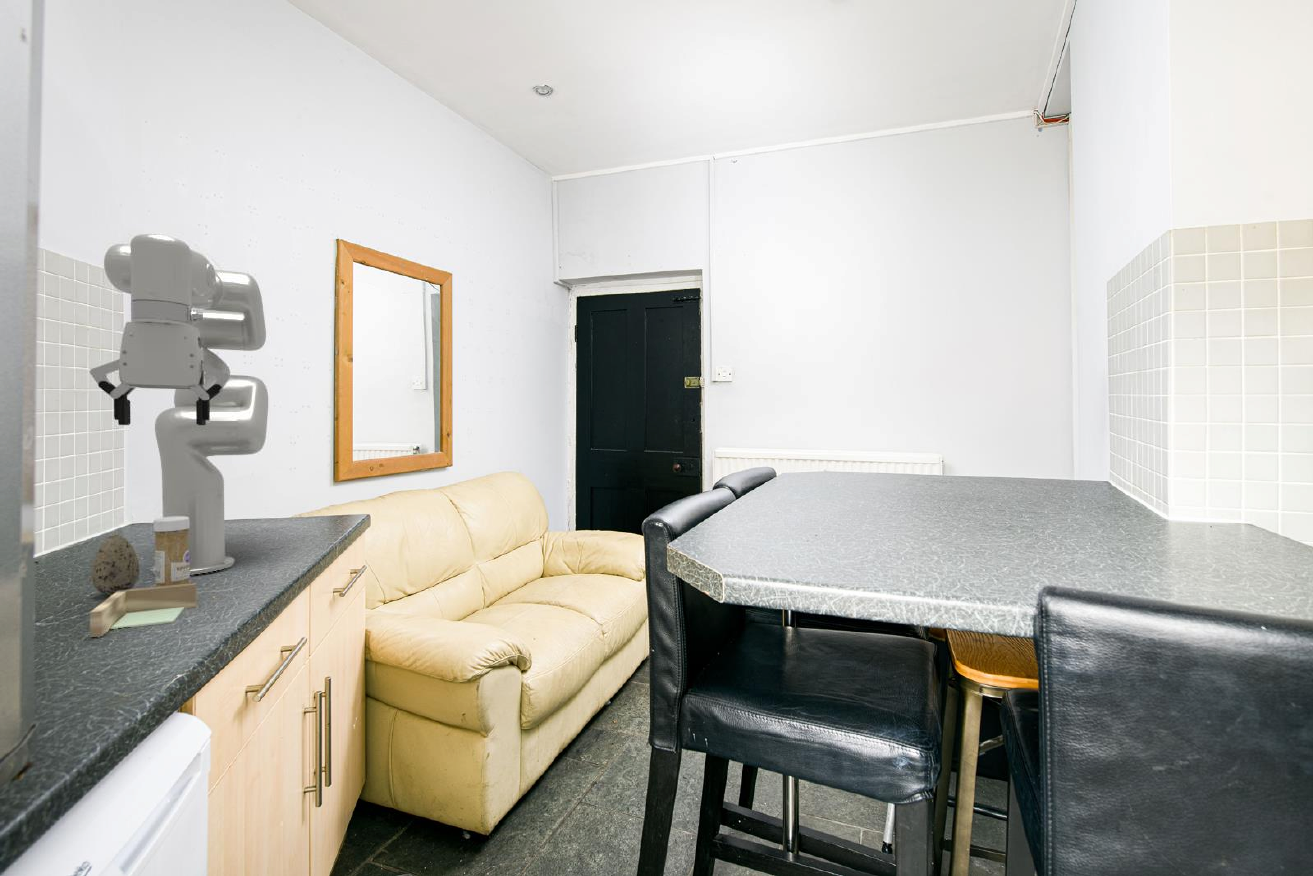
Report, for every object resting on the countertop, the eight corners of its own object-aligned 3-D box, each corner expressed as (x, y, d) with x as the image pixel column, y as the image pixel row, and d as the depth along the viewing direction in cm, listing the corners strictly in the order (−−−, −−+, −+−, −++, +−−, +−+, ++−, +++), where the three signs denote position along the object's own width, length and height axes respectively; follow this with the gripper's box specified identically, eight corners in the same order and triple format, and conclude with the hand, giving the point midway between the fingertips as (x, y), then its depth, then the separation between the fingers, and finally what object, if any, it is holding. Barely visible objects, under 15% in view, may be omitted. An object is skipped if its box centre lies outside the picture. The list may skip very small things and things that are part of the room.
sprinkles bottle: (189, 601, 98) (188, 518, 97) (152, 605, 95) (151, 520, 95) (191, 594, 102) (190, 514, 101) (156, 598, 99) (155, 516, 99)
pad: (126, 615, 91) (126, 613, 91) (184, 608, 94) (184, 607, 94) (110, 629, 84) (110, 627, 84) (173, 622, 88) (173, 620, 88)
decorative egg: (141, 595, 101) (140, 535, 101) (92, 602, 97) (91, 540, 96) (138, 587, 105) (137, 530, 105) (91, 594, 101) (89, 534, 101)
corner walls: (118, 613, 91) (118, 590, 91) (197, 604, 96) (196, 583, 96) (90, 638, 81) (89, 612, 81) (179, 627, 86) (179, 603, 86)
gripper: (232, 324, 103) (233, 425, 103) (99, 316, 95) (100, 425, 95) (224, 317, 96) (225, 425, 97) (80, 307, 88) (82, 424, 89)
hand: (163, 425), depth 96 cm, fingers open, 9 cm apart
